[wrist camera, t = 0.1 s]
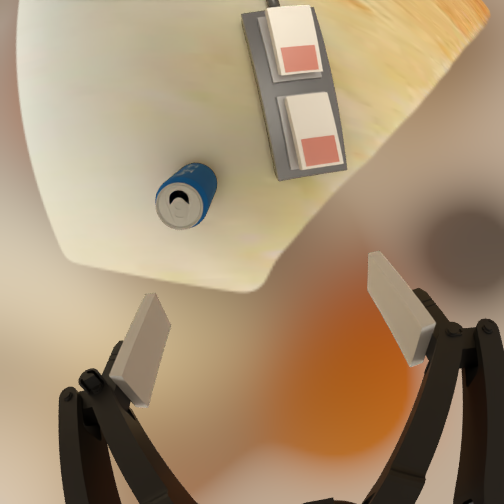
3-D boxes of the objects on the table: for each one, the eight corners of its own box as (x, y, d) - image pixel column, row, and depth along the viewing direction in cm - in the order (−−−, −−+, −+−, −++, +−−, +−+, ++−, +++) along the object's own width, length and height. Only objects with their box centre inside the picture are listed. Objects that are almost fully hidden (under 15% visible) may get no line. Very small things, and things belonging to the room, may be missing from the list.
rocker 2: (284, 102, 30) (286, 96, 28) (322, 97, 30) (327, 91, 27) (299, 170, 32) (303, 169, 30) (338, 164, 32) (344, 163, 29)
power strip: (233, -6, 26) (232, -21, 22) (298, -13, 26) (304, -27, 21) (275, 175, 40) (279, 183, 36) (338, 165, 40) (350, 171, 35)
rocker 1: (264, 11, 23) (266, 7, 21) (304, 8, 22) (310, 4, 20) (278, 74, 28) (281, 75, 26) (317, 70, 28) (323, 71, 26)
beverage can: (217, 161, 39) (205, 178, 29) (217, 202, 42) (208, 233, 32) (175, 163, 39) (149, 180, 28) (177, 203, 42) (155, 233, 31)
